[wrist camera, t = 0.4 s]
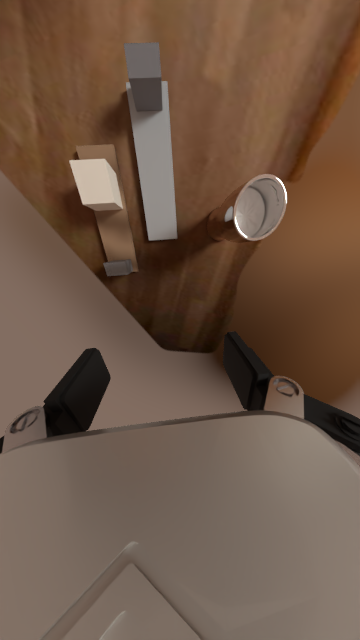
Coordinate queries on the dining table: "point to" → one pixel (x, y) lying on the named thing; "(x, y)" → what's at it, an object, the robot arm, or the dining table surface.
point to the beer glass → (249, 211)
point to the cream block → (97, 184)
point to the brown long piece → (113, 219)
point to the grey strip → (152, 138)
